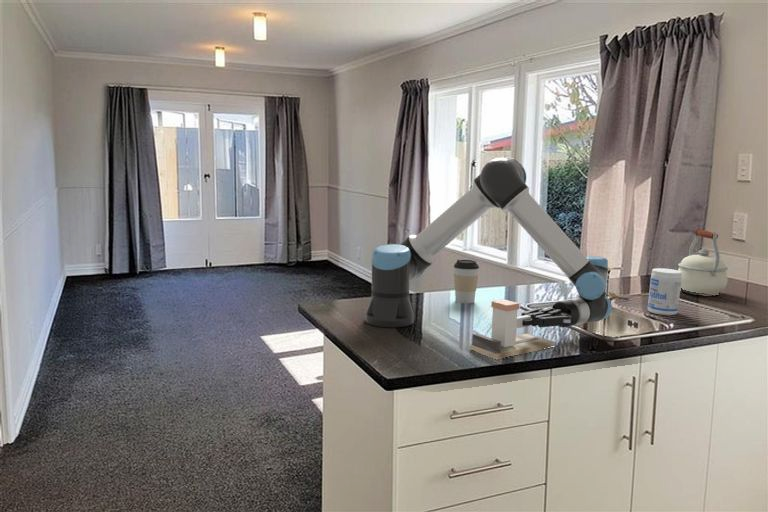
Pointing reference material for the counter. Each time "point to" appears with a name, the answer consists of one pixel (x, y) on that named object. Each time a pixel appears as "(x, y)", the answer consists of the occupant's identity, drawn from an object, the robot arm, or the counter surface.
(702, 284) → the kettle
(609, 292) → the tongs
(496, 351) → the board
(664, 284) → the supplement tub
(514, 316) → the block
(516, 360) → the counter surface
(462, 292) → the coffee cup
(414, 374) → the counter surface
